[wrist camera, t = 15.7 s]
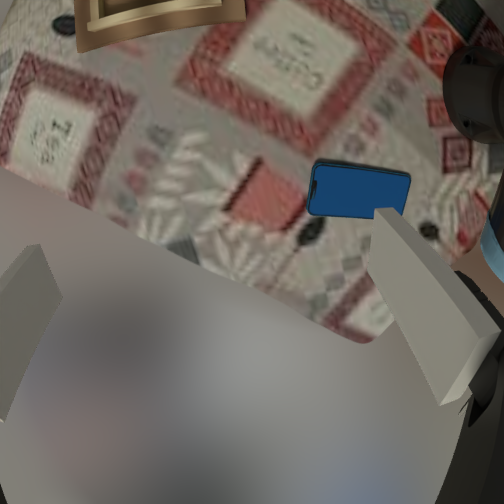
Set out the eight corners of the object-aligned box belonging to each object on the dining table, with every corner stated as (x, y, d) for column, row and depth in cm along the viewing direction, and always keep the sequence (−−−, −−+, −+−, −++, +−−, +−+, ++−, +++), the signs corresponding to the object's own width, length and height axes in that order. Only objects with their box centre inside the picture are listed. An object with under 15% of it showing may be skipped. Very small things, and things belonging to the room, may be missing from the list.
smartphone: (400, 221, 44) (306, 215, 42) (397, 218, 45) (304, 212, 43) (412, 175, 40) (314, 162, 38) (409, 173, 41) (312, 160, 39)
